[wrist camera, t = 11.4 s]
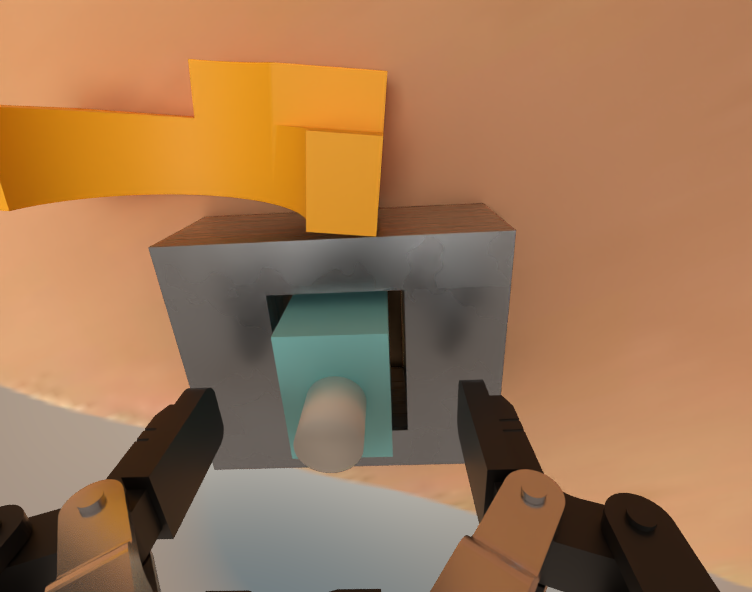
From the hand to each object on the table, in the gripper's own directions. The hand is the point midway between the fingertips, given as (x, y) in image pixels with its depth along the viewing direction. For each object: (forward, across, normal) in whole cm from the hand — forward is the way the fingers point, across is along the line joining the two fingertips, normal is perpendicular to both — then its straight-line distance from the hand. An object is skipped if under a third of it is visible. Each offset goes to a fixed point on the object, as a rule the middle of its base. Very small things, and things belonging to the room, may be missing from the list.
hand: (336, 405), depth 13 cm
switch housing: (+7, 0, 0) cm, 7 cm away
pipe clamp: (+7, +4, -8) cm, 12 cm away
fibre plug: (+7, 0, 0) cm, 7 cm away
